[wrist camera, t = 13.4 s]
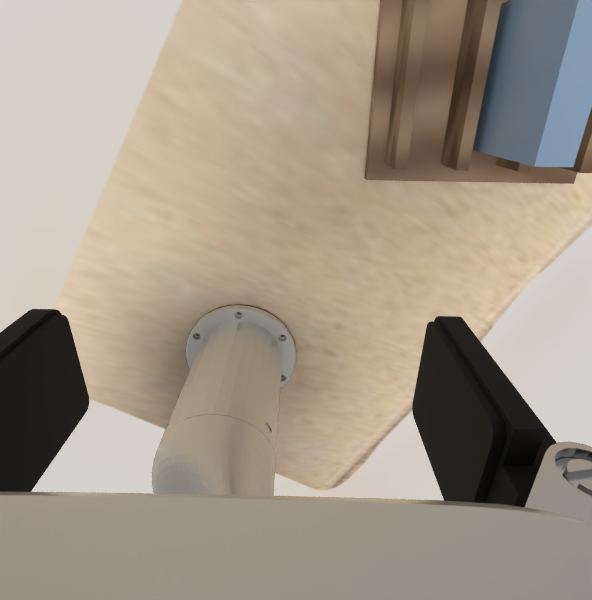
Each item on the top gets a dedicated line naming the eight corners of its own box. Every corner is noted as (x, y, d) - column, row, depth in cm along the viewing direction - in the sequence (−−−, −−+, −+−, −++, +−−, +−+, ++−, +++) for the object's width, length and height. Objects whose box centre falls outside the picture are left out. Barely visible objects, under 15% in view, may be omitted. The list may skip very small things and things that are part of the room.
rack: (565, 181, 38) (603, 192, 33) (364, 177, 38) (374, 187, 33) (630, -33, 31) (690, -58, 26) (383, -38, 31) (399, -63, 26)
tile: (489, 148, 35) (573, 167, 25) (462, 147, 35) (534, 166, 25) (519, 10, 31) (636, -39, 20) (488, 10, 31) (588, -40, 20)
